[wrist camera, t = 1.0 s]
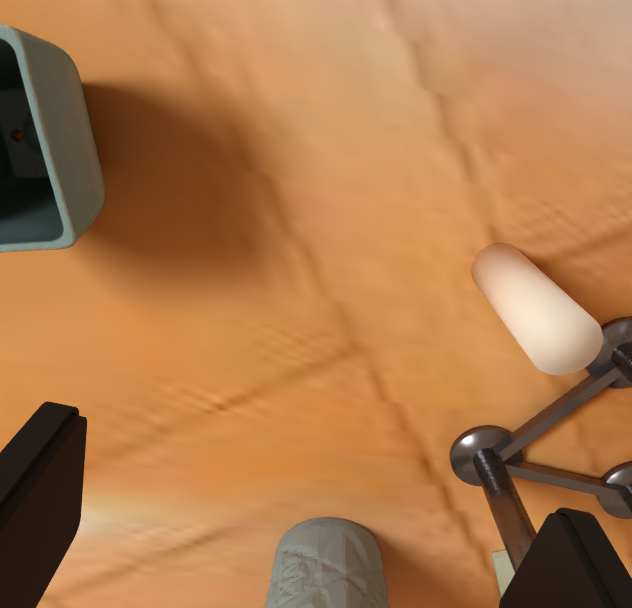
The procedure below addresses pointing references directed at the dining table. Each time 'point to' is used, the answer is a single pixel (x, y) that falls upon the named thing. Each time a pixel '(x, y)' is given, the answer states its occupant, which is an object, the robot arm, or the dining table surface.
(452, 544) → the dining table surface
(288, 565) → the grey teal cup
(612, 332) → the upright post stand
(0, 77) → the flower pot
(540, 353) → the dowel
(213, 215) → the dining table surface
